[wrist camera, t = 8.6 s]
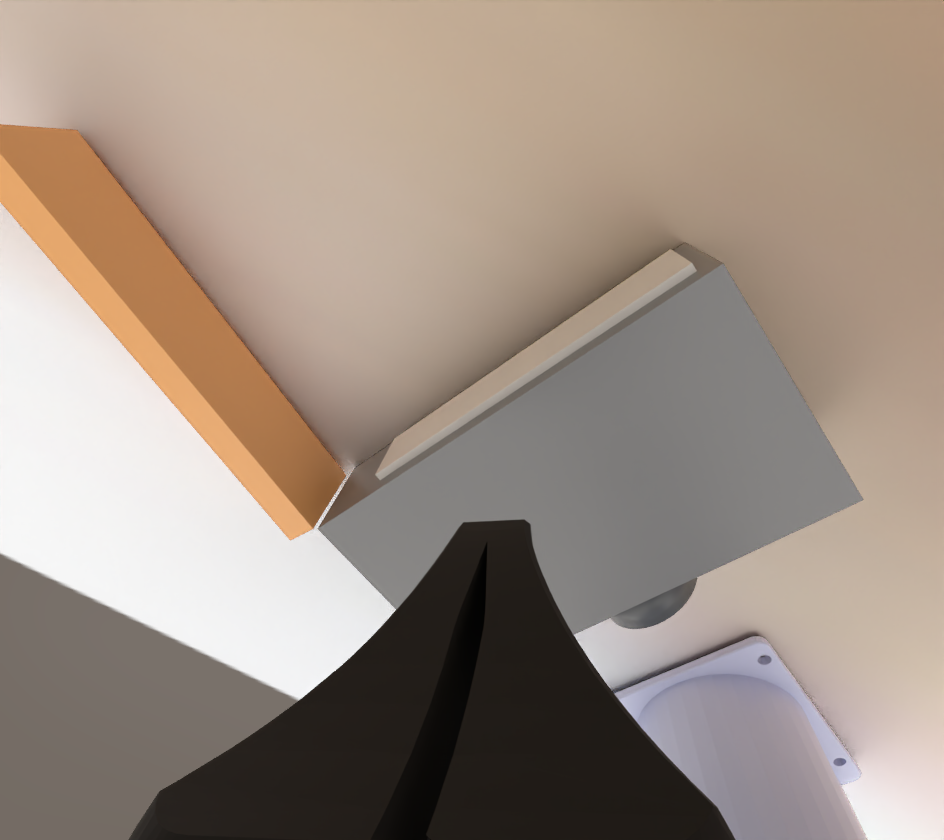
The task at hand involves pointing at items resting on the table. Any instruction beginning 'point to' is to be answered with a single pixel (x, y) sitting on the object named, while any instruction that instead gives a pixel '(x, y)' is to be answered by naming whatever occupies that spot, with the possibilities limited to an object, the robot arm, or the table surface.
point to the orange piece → (164, 320)
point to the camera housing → (609, 454)
